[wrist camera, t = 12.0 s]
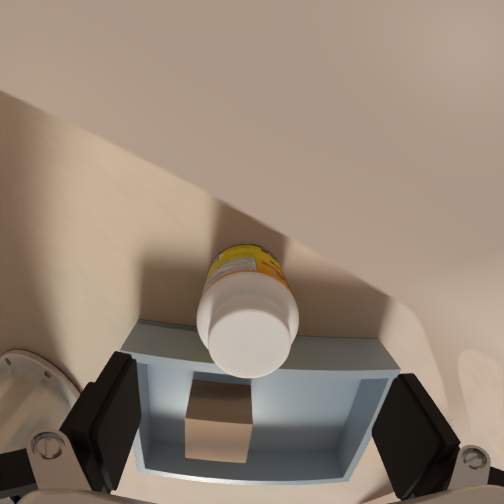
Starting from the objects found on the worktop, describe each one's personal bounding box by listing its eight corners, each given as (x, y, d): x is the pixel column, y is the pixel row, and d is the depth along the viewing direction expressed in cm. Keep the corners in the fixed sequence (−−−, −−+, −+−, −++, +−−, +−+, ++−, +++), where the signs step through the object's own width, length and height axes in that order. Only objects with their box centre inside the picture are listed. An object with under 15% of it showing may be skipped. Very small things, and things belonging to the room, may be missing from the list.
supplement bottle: (287, 302, 25) (314, 380, 15) (217, 315, 25) (207, 399, 15) (275, 233, 24) (300, 280, 14) (201, 248, 24) (175, 304, 14)
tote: (147, 437, 29) (137, 471, 24) (138, 319, 25) (119, 350, 20) (337, 448, 30) (347, 481, 25) (378, 338, 27) (400, 369, 22)
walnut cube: (192, 379, 26) (184, 418, 21) (250, 384, 26) (252, 424, 21) (191, 419, 27) (185, 457, 22) (244, 424, 28) (245, 463, 23)
